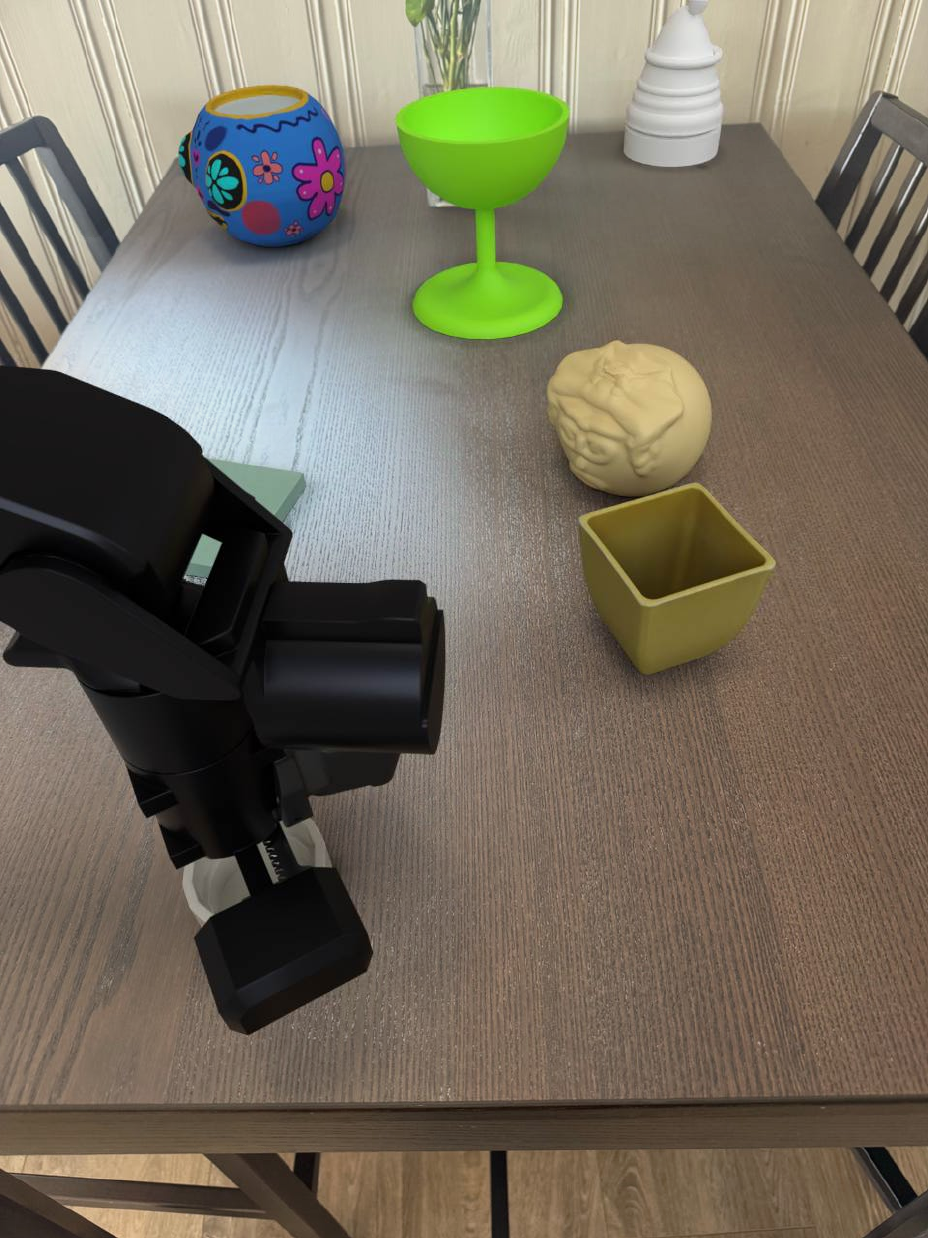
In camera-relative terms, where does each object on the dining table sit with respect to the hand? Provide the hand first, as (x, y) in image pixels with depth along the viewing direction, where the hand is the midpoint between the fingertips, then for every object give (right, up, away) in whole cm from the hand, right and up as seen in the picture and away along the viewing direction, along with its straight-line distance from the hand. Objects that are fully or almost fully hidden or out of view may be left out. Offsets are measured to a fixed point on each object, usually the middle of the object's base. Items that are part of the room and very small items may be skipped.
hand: (268, 895), depth 46 cm
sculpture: (+24, +26, +26) cm, 44 cm away
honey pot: (+39, +79, +75) cm, 116 cm away
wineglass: (+13, +48, +47) cm, 68 cm away
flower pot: (+23, +13, +13) cm, 29 cm away
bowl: (0, -1, +1) cm, 1 cm away
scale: (-11, +22, +24) cm, 34 cm away
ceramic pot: (-12, +61, +61) cm, 87 cm away
